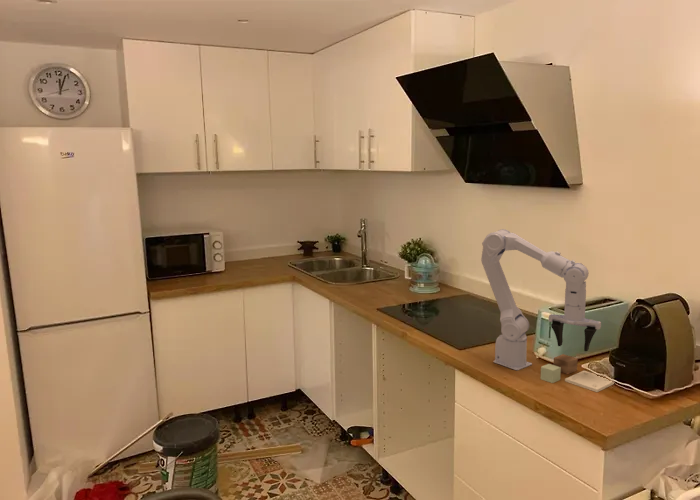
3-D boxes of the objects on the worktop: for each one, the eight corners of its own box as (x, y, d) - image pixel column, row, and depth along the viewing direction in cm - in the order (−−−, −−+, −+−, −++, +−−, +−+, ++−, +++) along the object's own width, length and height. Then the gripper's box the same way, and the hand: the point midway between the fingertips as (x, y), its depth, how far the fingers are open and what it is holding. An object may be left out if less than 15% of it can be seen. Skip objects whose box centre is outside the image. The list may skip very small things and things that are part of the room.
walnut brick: (553, 369, 166) (553, 357, 166) (562, 366, 169) (563, 354, 168) (567, 374, 162) (568, 362, 162) (577, 370, 165) (577, 358, 164)
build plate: (564, 381, 157) (564, 378, 157) (583, 372, 163) (583, 369, 163) (597, 392, 149) (597, 388, 149) (615, 383, 155) (615, 379, 154)
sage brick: (540, 379, 159) (540, 366, 159) (548, 376, 161) (548, 363, 161) (552, 383, 156) (552, 370, 155) (560, 380, 158) (560, 367, 158)
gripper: (546, 303, 159) (544, 346, 162) (597, 311, 150) (595, 356, 153) (553, 298, 165) (551, 340, 167) (603, 305, 156) (601, 349, 158)
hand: (573, 347), depth 160 cm, fingers open, 7 cm apart
